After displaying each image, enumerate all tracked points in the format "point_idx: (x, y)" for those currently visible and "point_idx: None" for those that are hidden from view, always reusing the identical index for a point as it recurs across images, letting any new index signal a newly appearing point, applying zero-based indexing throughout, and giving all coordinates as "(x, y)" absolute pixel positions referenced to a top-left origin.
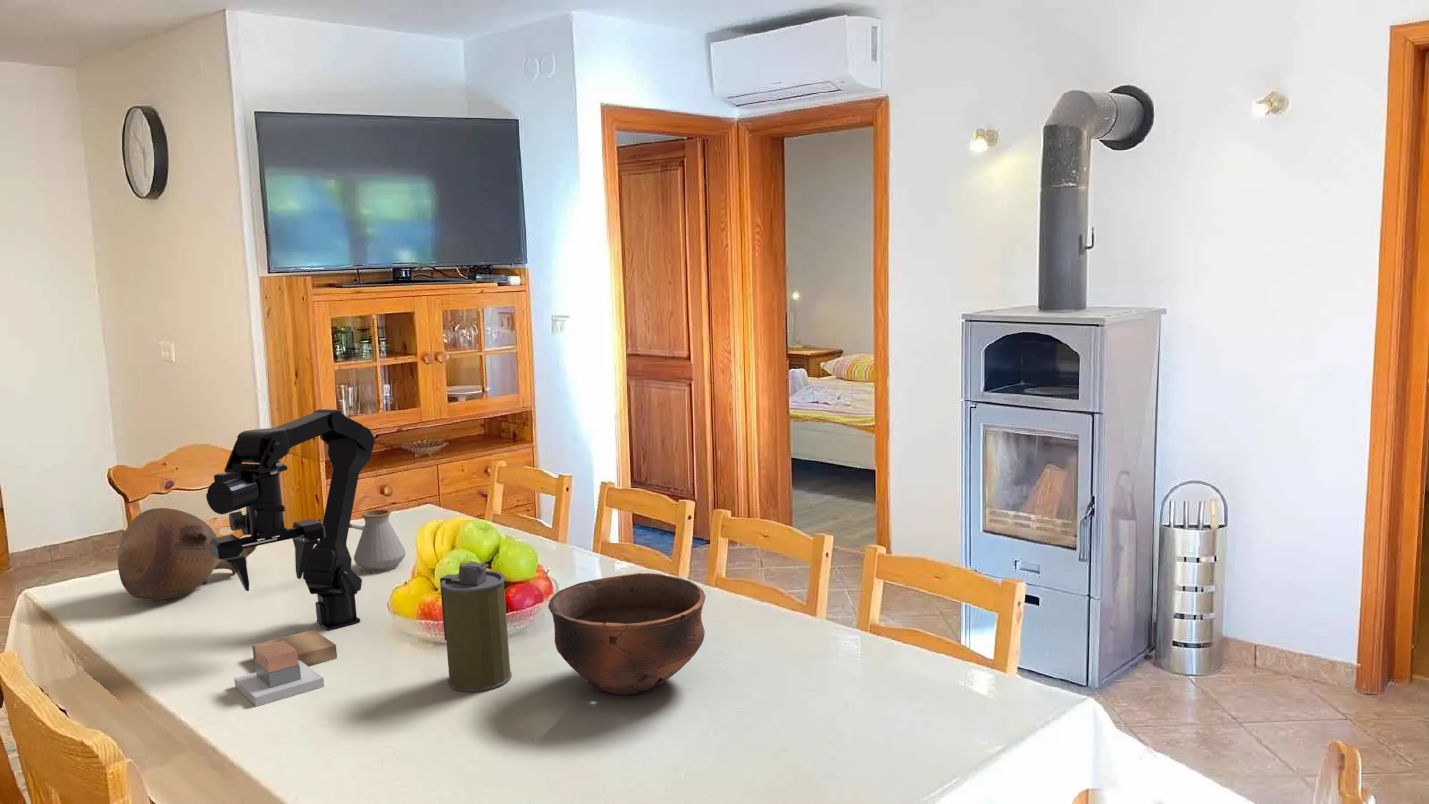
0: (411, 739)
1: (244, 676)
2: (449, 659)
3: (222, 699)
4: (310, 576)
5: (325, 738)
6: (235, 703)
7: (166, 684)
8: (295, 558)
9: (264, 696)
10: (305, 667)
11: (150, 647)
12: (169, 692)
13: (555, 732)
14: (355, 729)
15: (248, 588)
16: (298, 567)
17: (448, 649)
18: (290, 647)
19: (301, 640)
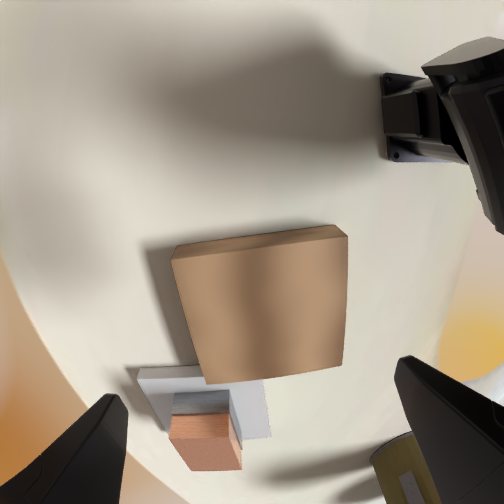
0: (291, 497)
1: (153, 382)
2: (381, 477)
3: (126, 394)
4: (478, 135)
5: (234, 487)
6: (146, 413)
7: (30, 279)
8: (467, 428)
9: None
10: (260, 401)
11: (16, 37)
12: (43, 319)
13: (362, 496)
14: (262, 486)
15: (125, 424)
16: (422, 427)
17: (385, 485)
18: (234, 460)
19: (294, 303)
